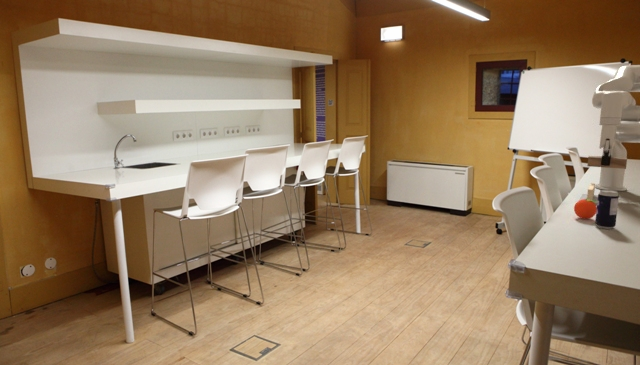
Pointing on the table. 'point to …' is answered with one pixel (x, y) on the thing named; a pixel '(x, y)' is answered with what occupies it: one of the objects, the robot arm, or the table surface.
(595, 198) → the ridge stand
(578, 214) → the tomato
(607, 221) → the beverage can
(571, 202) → the table surface
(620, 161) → the walnut rod
